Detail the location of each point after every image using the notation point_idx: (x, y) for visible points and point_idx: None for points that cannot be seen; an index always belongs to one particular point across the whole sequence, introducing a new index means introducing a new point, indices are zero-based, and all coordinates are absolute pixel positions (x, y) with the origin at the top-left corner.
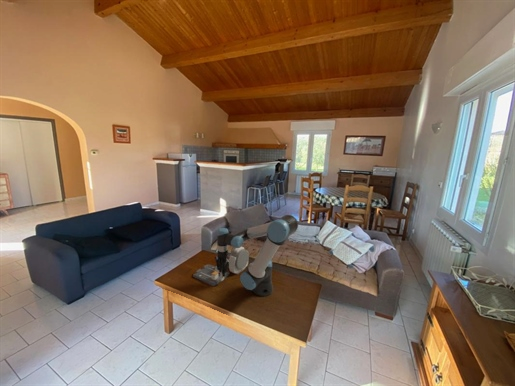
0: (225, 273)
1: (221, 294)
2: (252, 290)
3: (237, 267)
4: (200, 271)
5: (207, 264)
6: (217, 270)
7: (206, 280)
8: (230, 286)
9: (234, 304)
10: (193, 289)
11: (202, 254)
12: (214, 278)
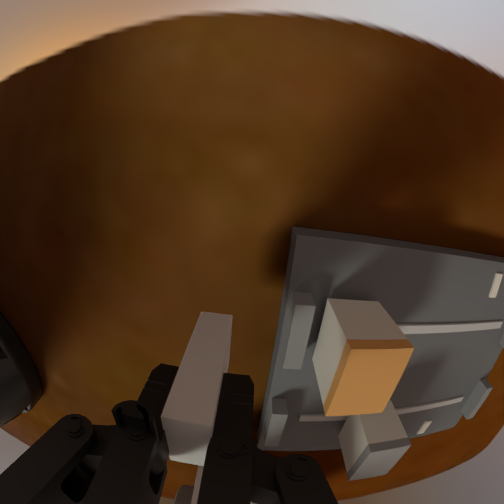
0: (268, 432)
1: (126, 151)
2: (3, 321)
3: (175, 500)
4: (501, 333)
5: (472, 417)
6: (368, 428)
7: (422, 251)
8: (132, 311)
9: (2, 129)
10: (446, 92)
11: (491, 436)
12: (338, 311)
